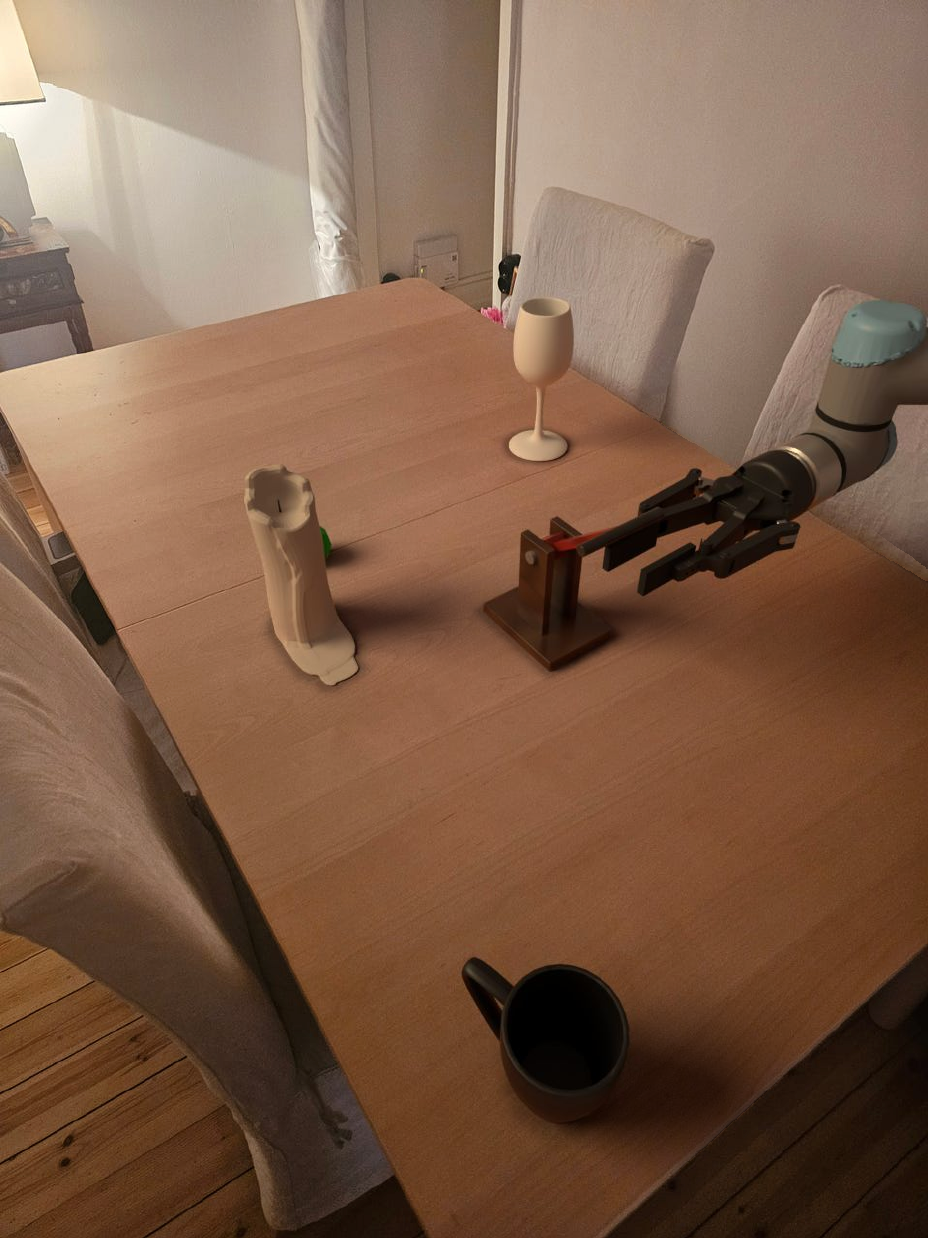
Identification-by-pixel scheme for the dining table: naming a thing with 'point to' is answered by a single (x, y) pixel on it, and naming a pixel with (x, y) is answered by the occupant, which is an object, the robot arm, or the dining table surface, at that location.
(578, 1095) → the mug
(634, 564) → the dining table surface
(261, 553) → the candle
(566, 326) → the wineglass
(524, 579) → the rod stand
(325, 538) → the polyhedron
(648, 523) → the red lever
